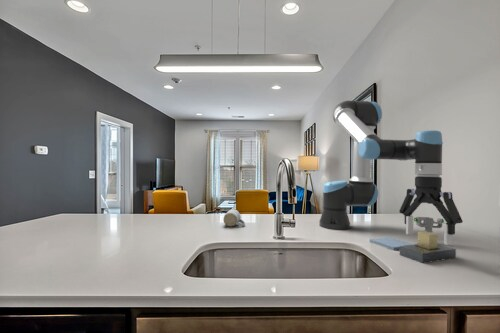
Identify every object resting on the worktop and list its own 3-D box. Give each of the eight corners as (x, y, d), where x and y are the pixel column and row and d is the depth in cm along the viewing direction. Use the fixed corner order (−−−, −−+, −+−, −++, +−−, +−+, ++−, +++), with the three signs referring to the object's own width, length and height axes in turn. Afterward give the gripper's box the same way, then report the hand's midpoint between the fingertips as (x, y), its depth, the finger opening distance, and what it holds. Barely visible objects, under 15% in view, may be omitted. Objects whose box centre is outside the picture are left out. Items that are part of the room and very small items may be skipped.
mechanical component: (444, 244, 100) (444, 219, 101) (416, 242, 103) (416, 217, 103) (440, 242, 103) (440, 217, 104) (413, 240, 105) (413, 216, 106)
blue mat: (369, 241, 102) (369, 239, 102) (389, 239, 106) (389, 237, 106) (393, 250, 92) (393, 247, 92) (414, 247, 95) (414, 244, 95)
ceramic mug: (222, 226, 124) (222, 211, 124) (226, 223, 132) (226, 208, 132) (243, 228, 122) (244, 212, 122) (246, 224, 130) (246, 209, 130)
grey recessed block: (399, 254, 87) (399, 246, 87) (431, 250, 92) (431, 242, 92) (422, 263, 79) (422, 253, 79) (455, 257, 85) (455, 248, 85)
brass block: (417, 255, 87) (417, 231, 87) (425, 253, 88) (425, 231, 88) (429, 259, 83) (429, 234, 83) (437, 257, 84) (437, 234, 84)
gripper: (389, 174, 96) (388, 230, 96) (461, 177, 73) (460, 250, 73) (403, 175, 99) (402, 229, 98) (477, 177, 76) (477, 248, 75)
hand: (427, 238), depth 86 cm, fingers open, 12 cm apart
